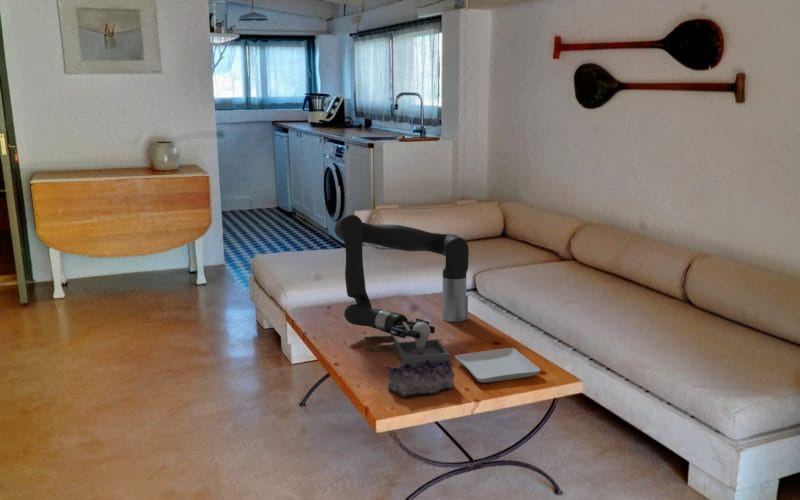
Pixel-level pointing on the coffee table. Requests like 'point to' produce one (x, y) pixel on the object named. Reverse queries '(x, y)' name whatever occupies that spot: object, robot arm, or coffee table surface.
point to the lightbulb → (421, 335)
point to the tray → (431, 352)
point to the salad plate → (498, 365)
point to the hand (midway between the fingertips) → (427, 332)
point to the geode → (421, 378)
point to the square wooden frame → (381, 347)
